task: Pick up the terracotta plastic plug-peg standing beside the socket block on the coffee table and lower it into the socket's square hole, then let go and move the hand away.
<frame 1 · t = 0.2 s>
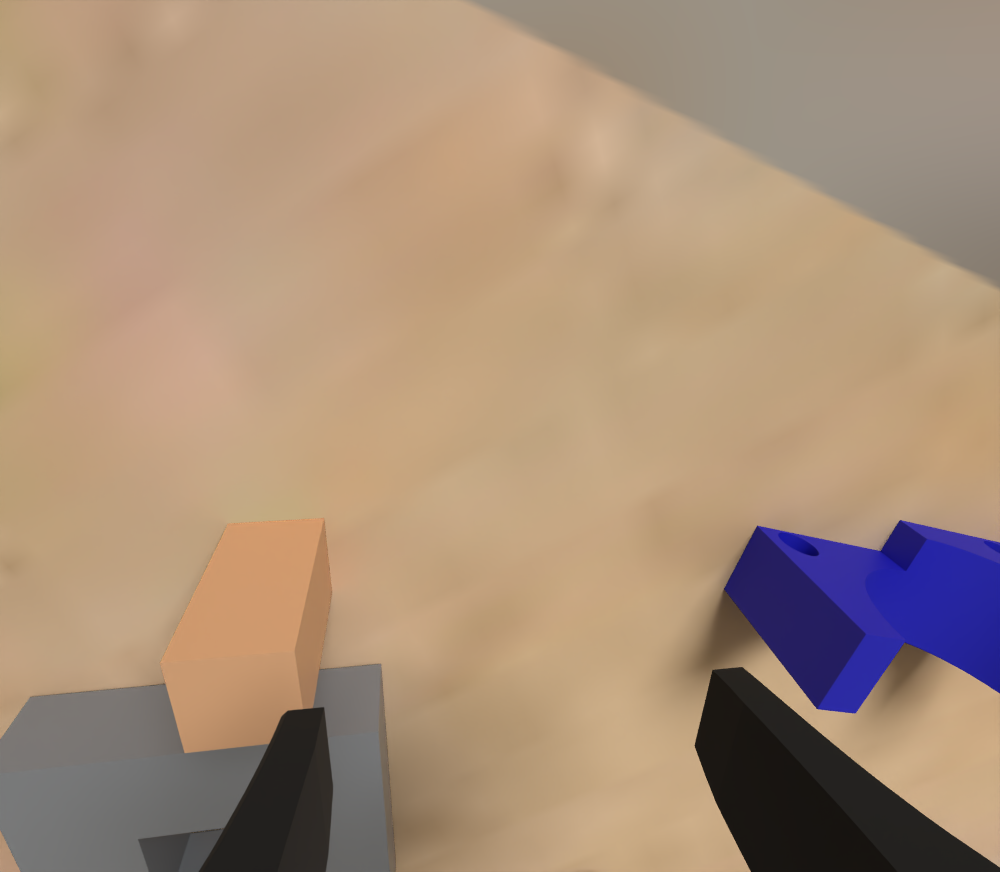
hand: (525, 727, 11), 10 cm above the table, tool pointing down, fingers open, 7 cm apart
socket block: (238, 790, 24), on the table
plug peg: (282, 559, 20), on the table
cable clip: (864, 561, 25), on the table
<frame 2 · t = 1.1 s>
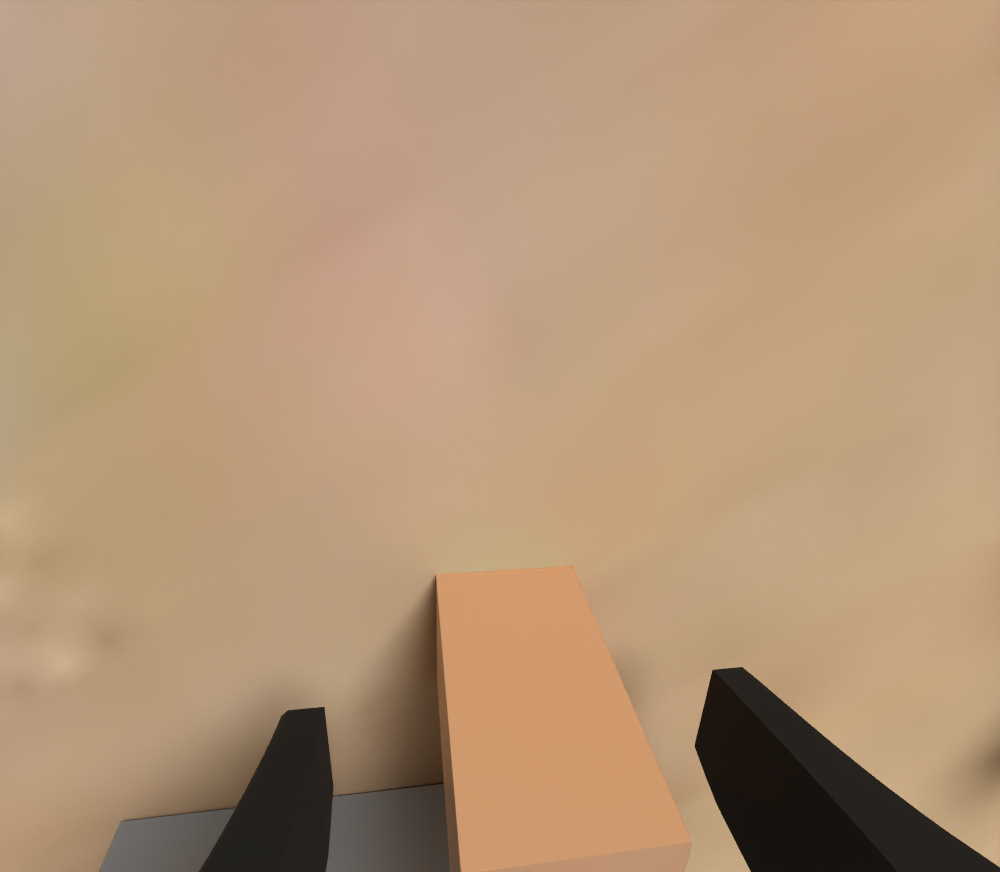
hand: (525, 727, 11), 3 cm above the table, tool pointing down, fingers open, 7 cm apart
plug peg: (502, 624, 13), on the table
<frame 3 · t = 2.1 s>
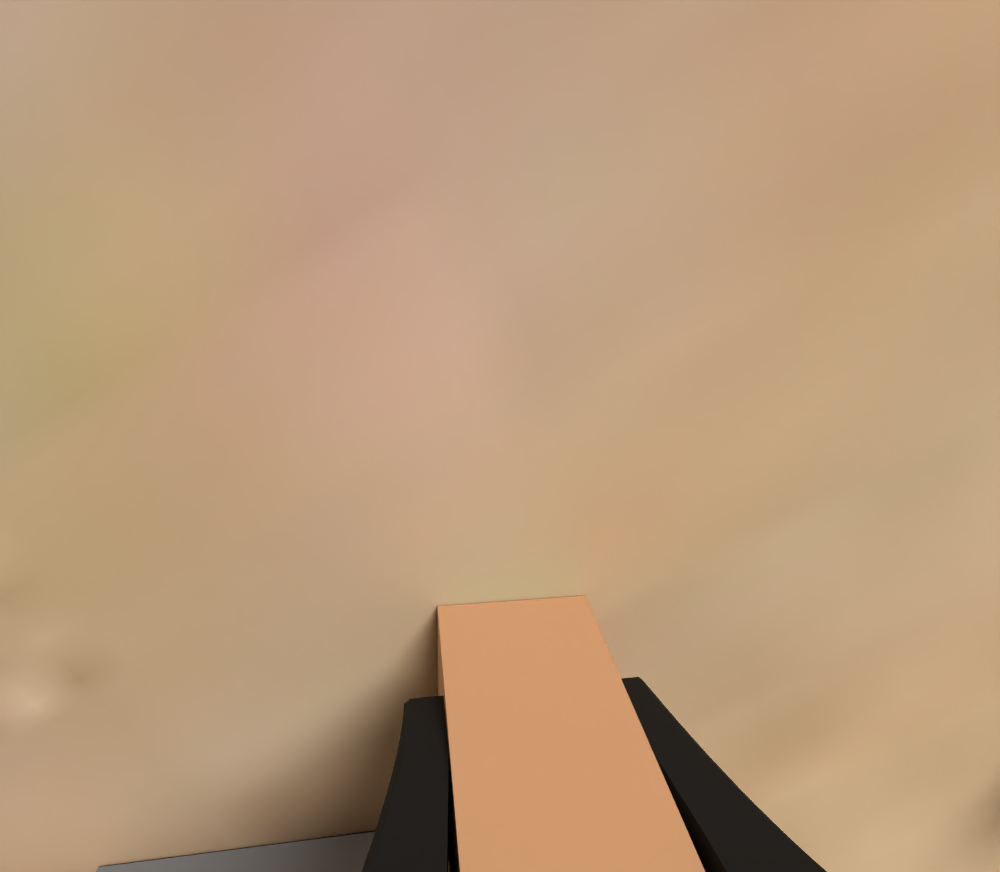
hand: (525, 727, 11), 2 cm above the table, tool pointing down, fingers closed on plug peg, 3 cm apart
plug peg: (509, 658, 12), on the table, touching gripper
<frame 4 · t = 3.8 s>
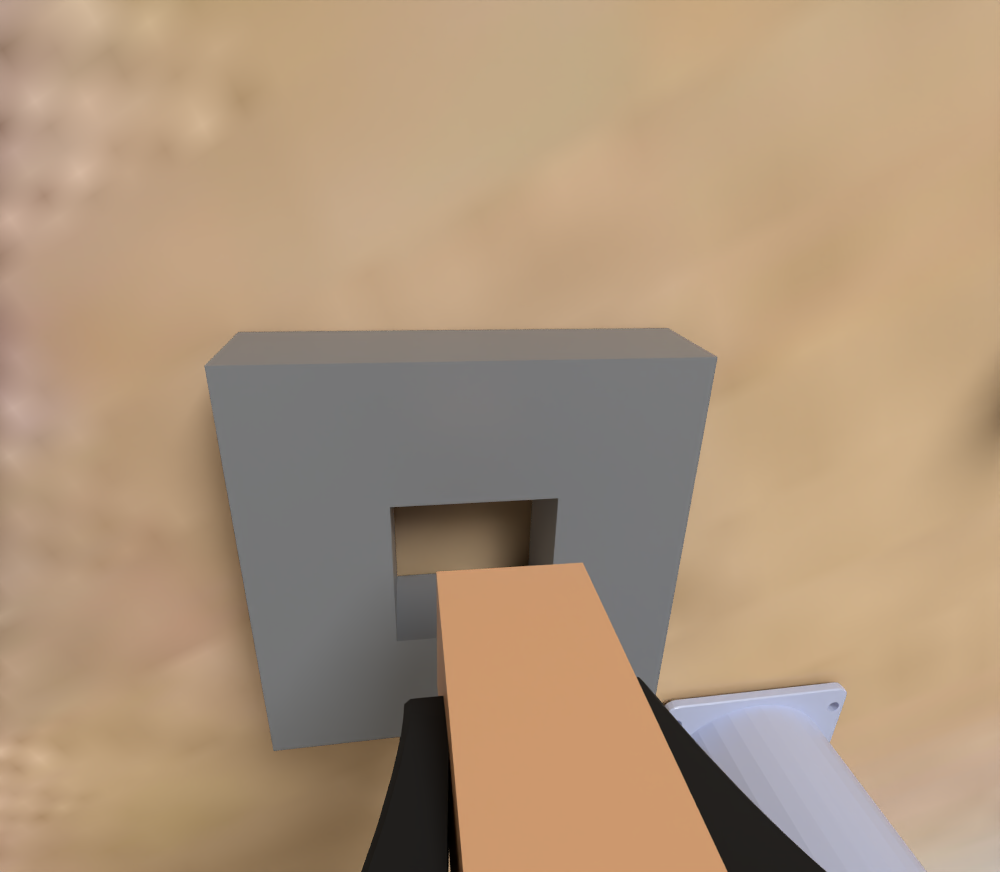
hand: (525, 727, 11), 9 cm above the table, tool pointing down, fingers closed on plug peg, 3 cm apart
socket block: (464, 515, 19), on the table
plug peg: (507, 625, 13), point 7 cm above the table, touching gripper
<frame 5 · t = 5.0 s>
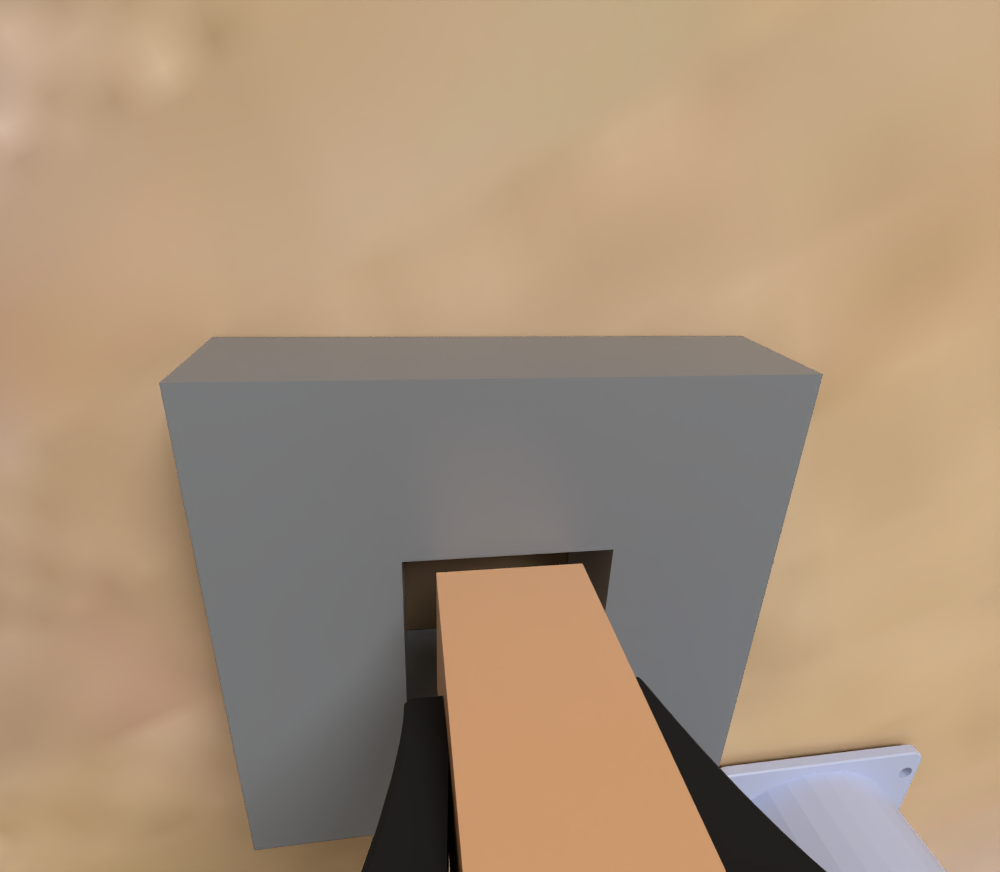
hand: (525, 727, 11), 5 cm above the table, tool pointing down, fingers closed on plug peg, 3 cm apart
socket block: (488, 559, 16), on the table
plug peg: (507, 626, 13), point 3 cm above the table, touching gripper
when the fingers open (4 cm above the table, at t = 5.7 s): plug peg drops 2 cm, resting in socket block.
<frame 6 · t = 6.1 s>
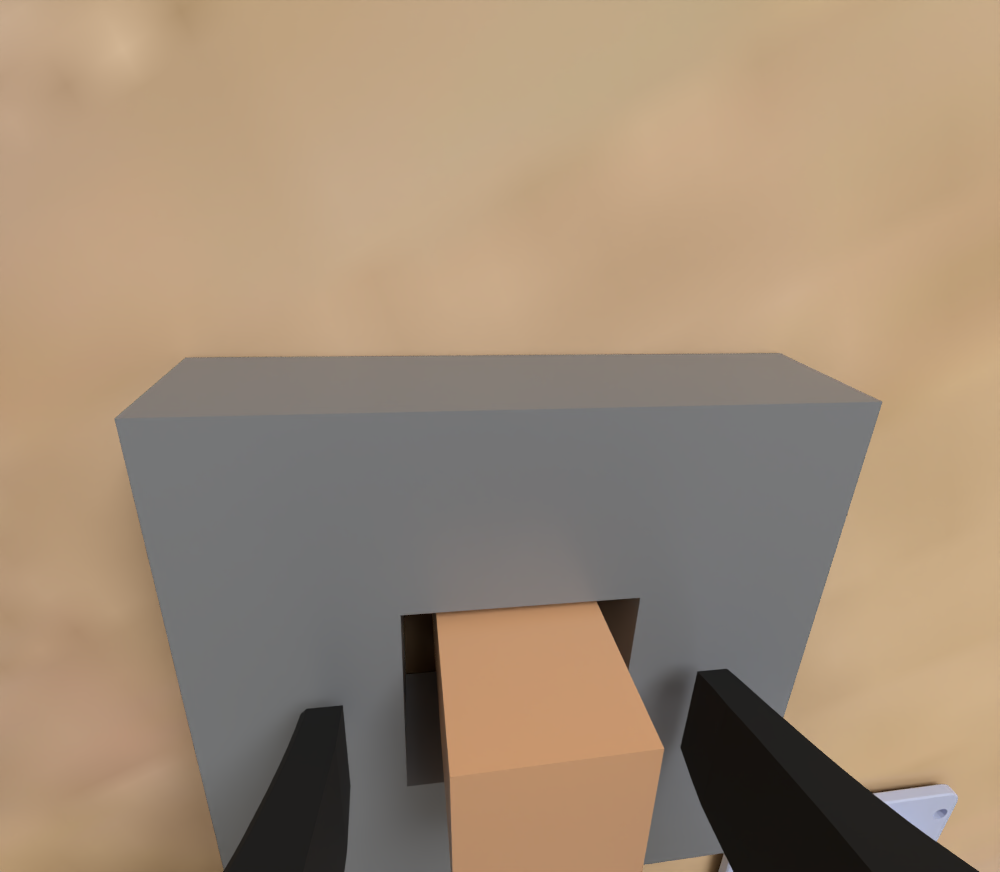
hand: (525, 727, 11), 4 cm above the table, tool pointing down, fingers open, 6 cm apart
socket block: (495, 597, 14), on the table
plug peg: (494, 579, 14), resting in socket block
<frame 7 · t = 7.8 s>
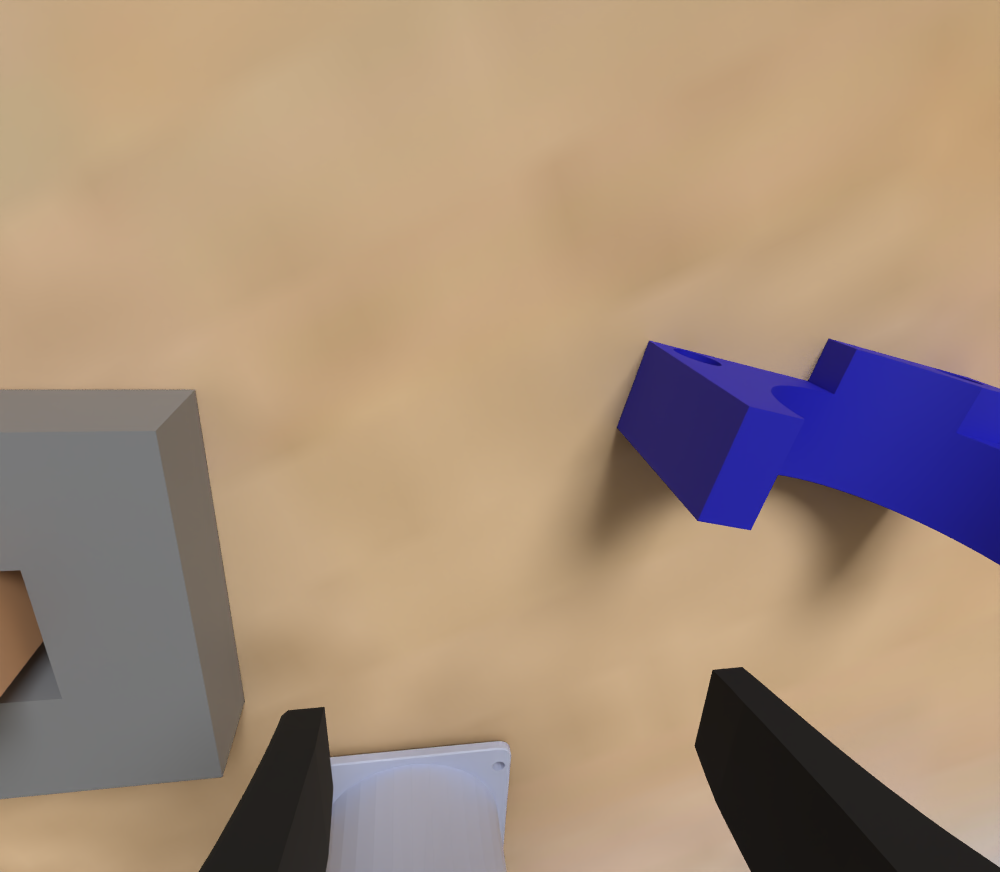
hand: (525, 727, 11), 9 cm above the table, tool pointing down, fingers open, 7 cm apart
socket block: (16, 574, 18), on the table
plug peg: (11, 560, 18), resting in socket block
cable clip: (791, 397, 20), on the table
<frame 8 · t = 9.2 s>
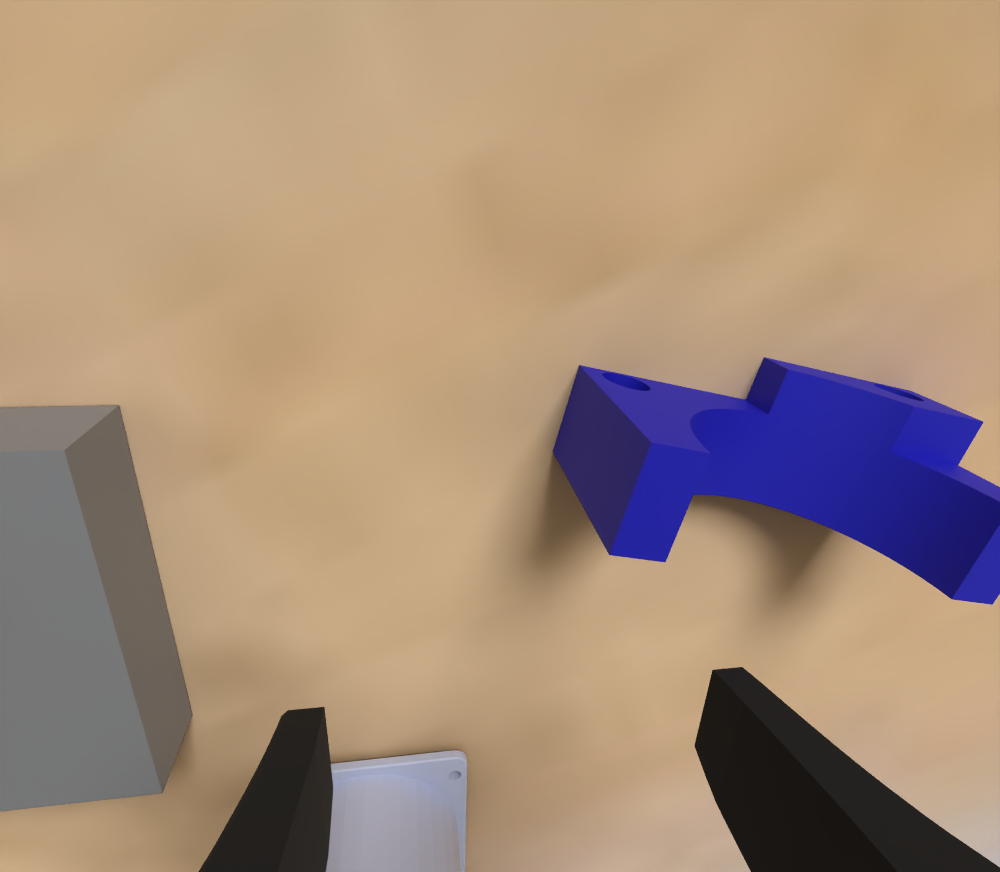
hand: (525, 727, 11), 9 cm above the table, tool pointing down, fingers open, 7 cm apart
cable clip: (731, 416, 20), on the table
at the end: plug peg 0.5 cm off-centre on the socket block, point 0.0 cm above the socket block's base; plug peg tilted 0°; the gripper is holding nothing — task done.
